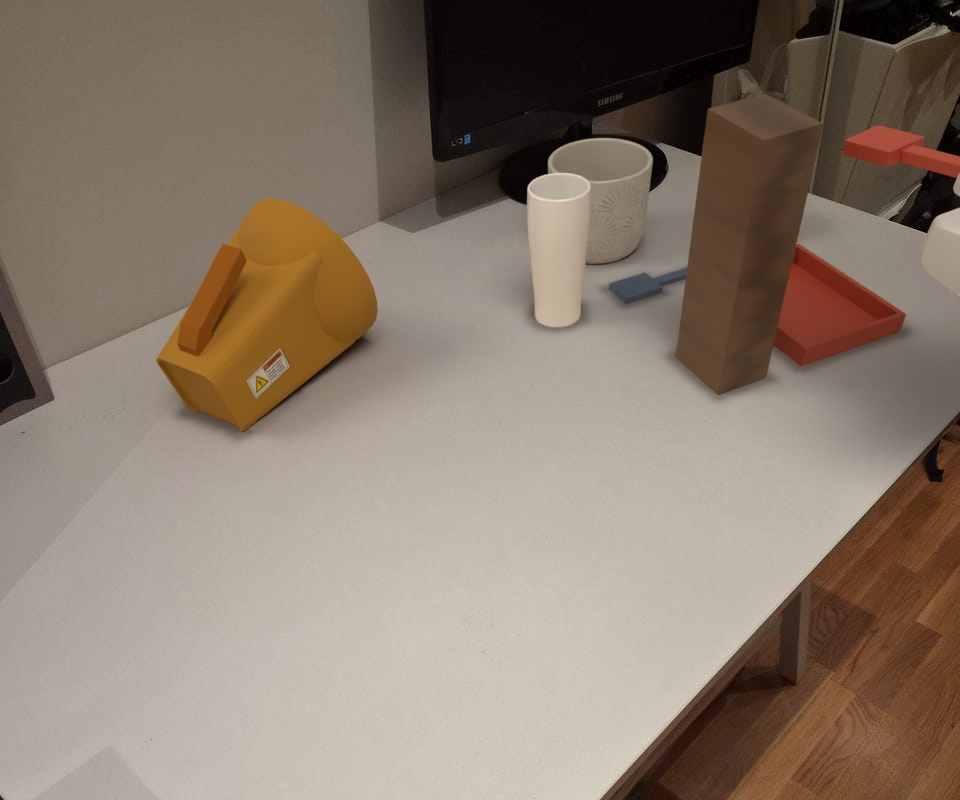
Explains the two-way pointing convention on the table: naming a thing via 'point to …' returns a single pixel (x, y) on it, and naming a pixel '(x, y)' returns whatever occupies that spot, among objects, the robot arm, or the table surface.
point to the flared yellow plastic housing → (268, 315)
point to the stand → (744, 237)
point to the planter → (610, 192)
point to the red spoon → (899, 150)
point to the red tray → (829, 312)
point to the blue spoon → (644, 285)
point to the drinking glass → (558, 245)
